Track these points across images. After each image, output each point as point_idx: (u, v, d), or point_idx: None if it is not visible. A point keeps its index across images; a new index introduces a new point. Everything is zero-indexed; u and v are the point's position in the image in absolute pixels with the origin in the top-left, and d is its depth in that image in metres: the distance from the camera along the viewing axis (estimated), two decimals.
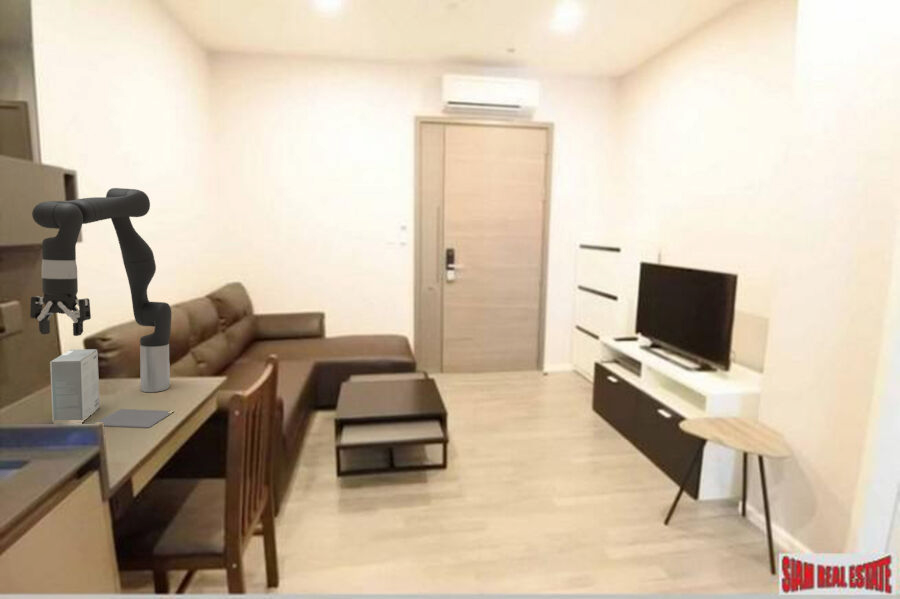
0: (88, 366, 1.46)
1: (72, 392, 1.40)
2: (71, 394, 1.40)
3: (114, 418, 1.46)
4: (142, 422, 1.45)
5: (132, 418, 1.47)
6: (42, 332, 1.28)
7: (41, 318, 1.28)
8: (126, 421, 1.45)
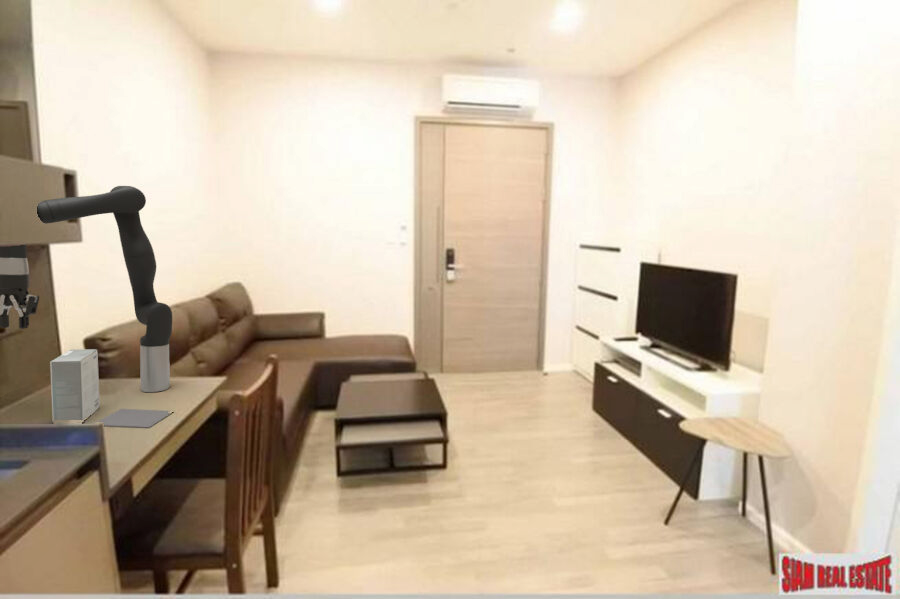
0: (88, 366, 1.46)
1: (72, 392, 1.40)
2: (71, 394, 1.40)
3: (114, 418, 1.46)
4: (142, 422, 1.45)
5: (132, 418, 1.47)
6: (1, 326, 1.42)
7: (0, 313, 1.42)
8: (126, 421, 1.45)
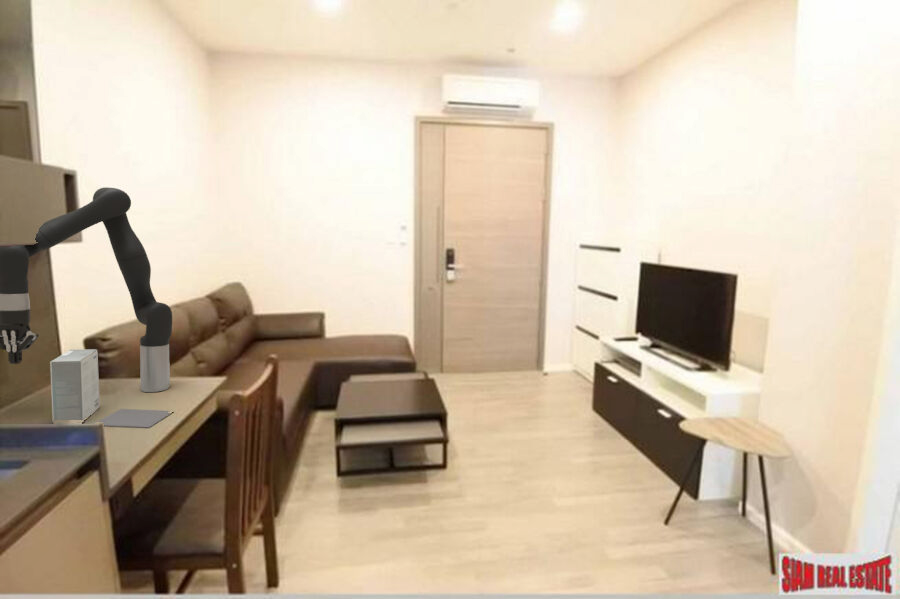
0: (88, 366, 1.46)
1: (72, 392, 1.40)
2: (71, 394, 1.40)
3: (114, 418, 1.46)
4: (142, 422, 1.45)
5: (132, 418, 1.47)
6: (11, 362, 1.43)
7: (10, 349, 1.43)
8: (126, 421, 1.45)
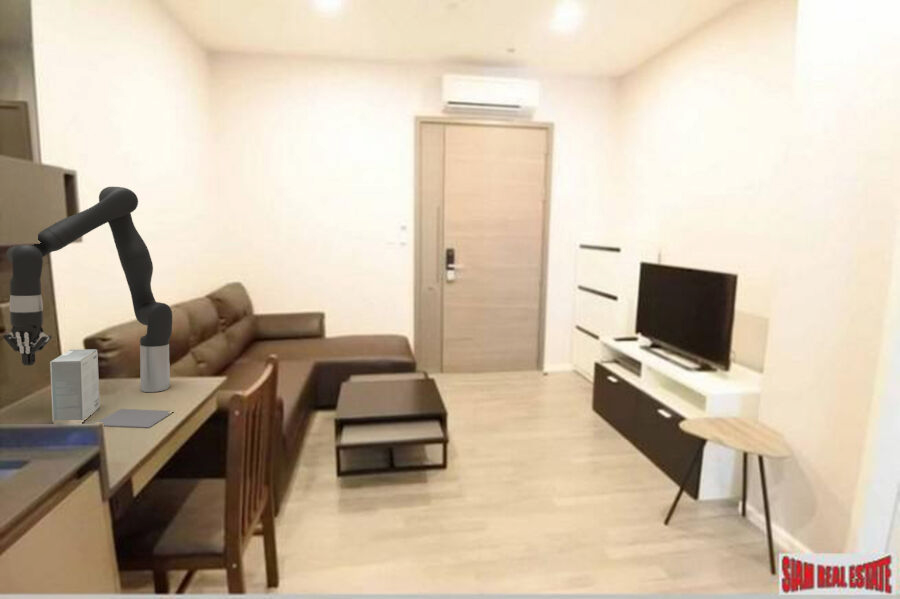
0: (88, 366, 1.46)
1: (72, 392, 1.40)
2: (71, 394, 1.40)
3: (114, 418, 1.46)
4: (142, 422, 1.45)
5: (132, 418, 1.47)
6: (24, 363, 1.44)
7: (23, 351, 1.43)
8: (126, 421, 1.45)
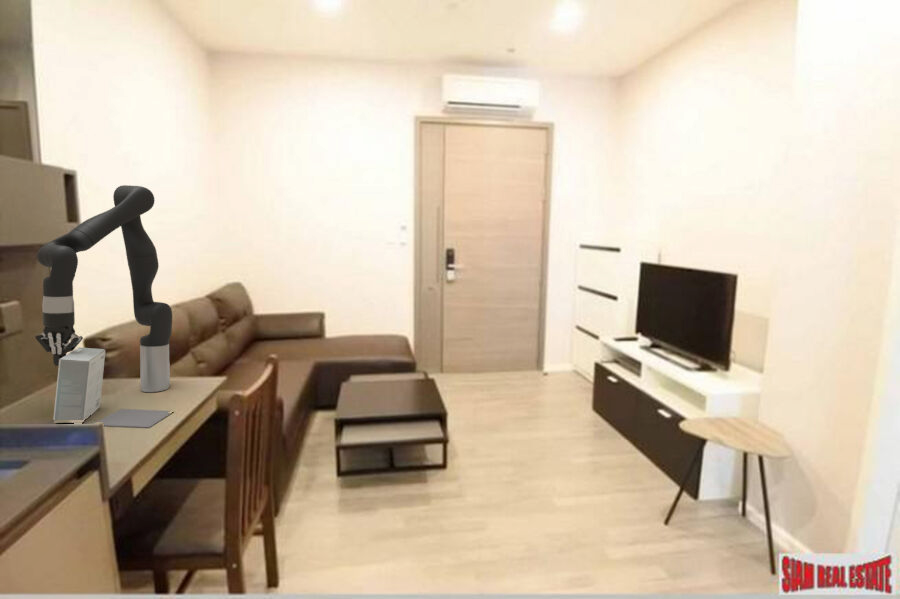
0: (95, 366, 1.46)
1: (77, 391, 1.40)
2: (76, 393, 1.40)
3: (114, 418, 1.46)
4: (142, 422, 1.45)
5: (132, 418, 1.47)
6: (56, 364, 1.44)
7: (55, 351, 1.44)
8: (126, 421, 1.45)
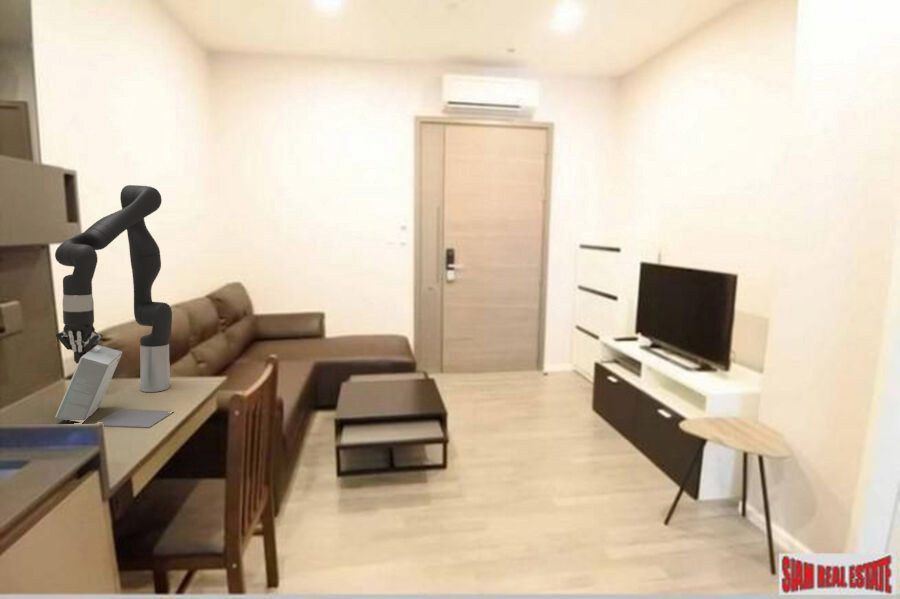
0: (110, 369, 1.47)
1: (88, 391, 1.41)
2: (86, 393, 1.41)
3: (114, 418, 1.46)
4: (142, 422, 1.45)
5: (132, 418, 1.47)
6: (76, 361, 1.46)
7: (76, 349, 1.45)
8: (126, 421, 1.45)
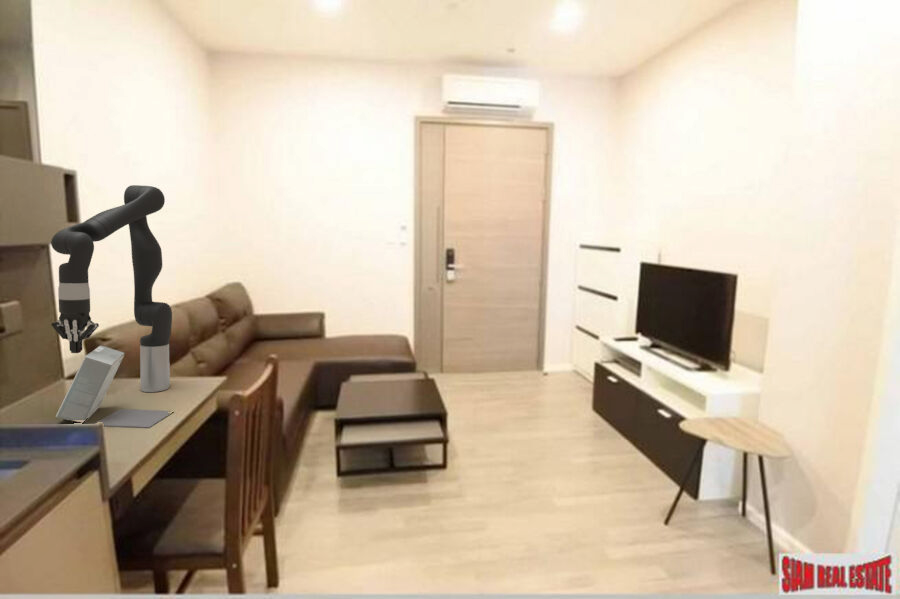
0: (113, 369, 1.48)
1: (90, 391, 1.41)
2: (88, 392, 1.41)
3: (114, 418, 1.46)
4: (142, 422, 1.45)
5: (132, 418, 1.47)
6: (72, 351, 1.44)
7: (71, 339, 1.43)
8: (126, 421, 1.45)
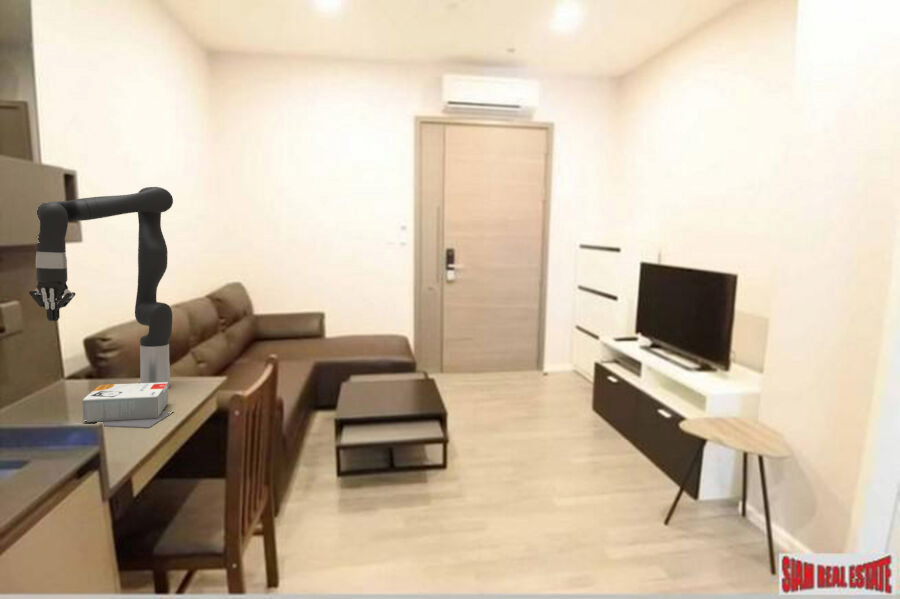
0: None
1: (122, 414, 1.45)
2: (120, 413, 1.45)
3: None
4: (142, 422, 1.45)
5: None
6: (49, 319, 1.48)
7: (48, 307, 1.48)
8: (126, 421, 1.45)
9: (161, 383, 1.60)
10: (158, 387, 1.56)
